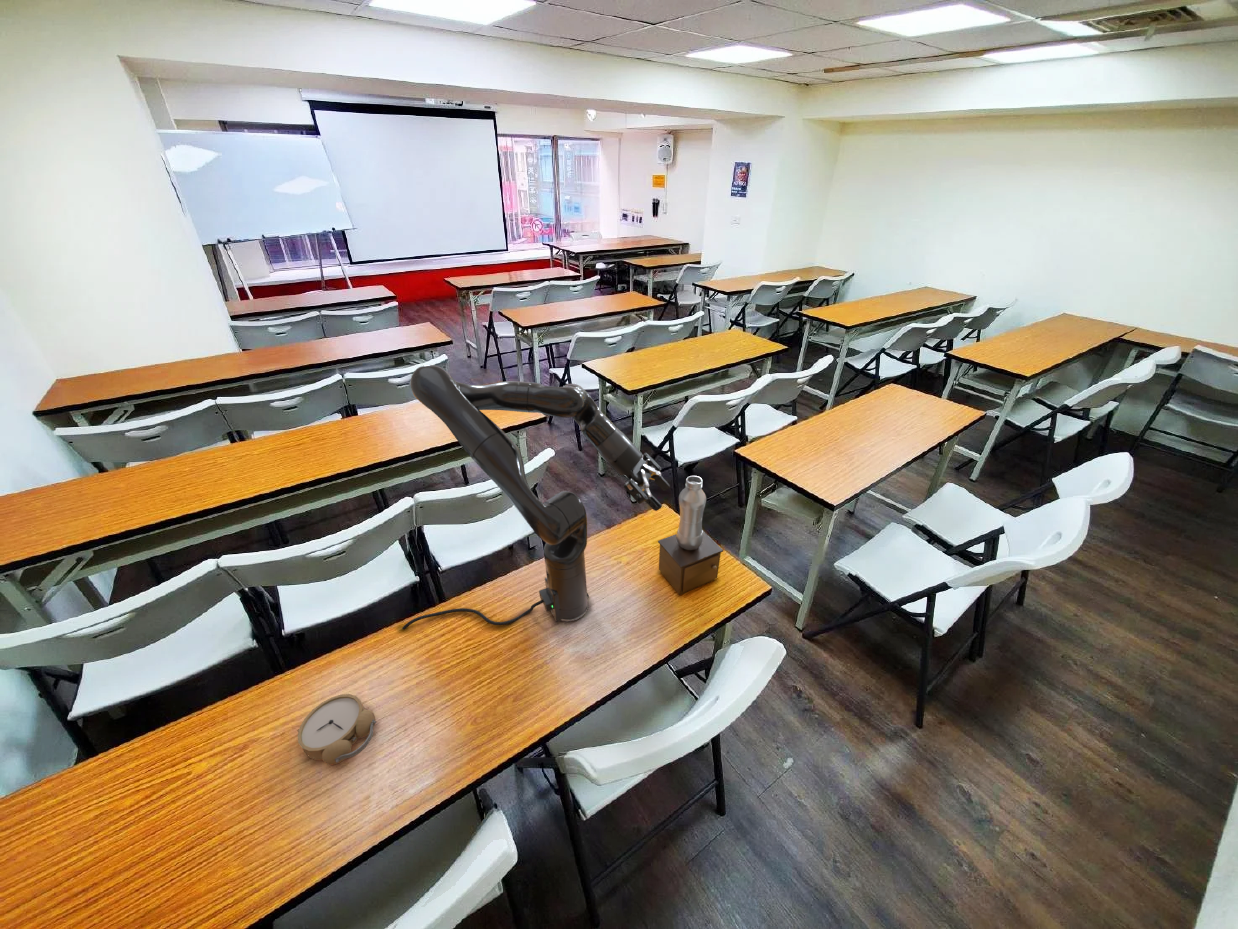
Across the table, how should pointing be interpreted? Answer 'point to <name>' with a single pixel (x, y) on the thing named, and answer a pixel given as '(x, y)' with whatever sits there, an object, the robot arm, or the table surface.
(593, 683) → the table surface
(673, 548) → the cabinet
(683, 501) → the silver metal bottle
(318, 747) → the alarm clock
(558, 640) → the table surface
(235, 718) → the table surface
